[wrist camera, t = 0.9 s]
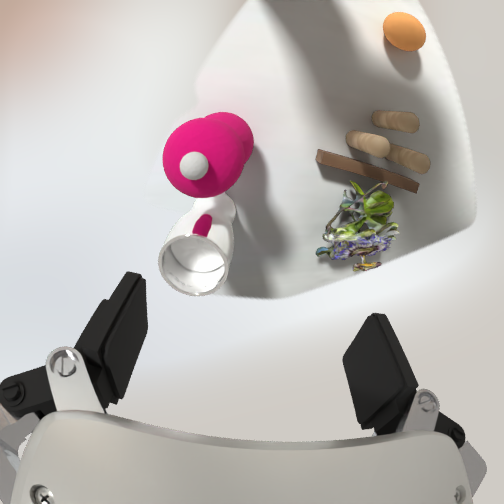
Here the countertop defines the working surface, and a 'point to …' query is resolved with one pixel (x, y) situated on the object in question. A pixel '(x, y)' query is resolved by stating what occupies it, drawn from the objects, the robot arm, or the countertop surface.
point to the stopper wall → (366, 170)
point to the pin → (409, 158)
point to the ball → (404, 31)
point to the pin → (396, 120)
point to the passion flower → (367, 240)
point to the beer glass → (200, 247)
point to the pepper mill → (207, 154)
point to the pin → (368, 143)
